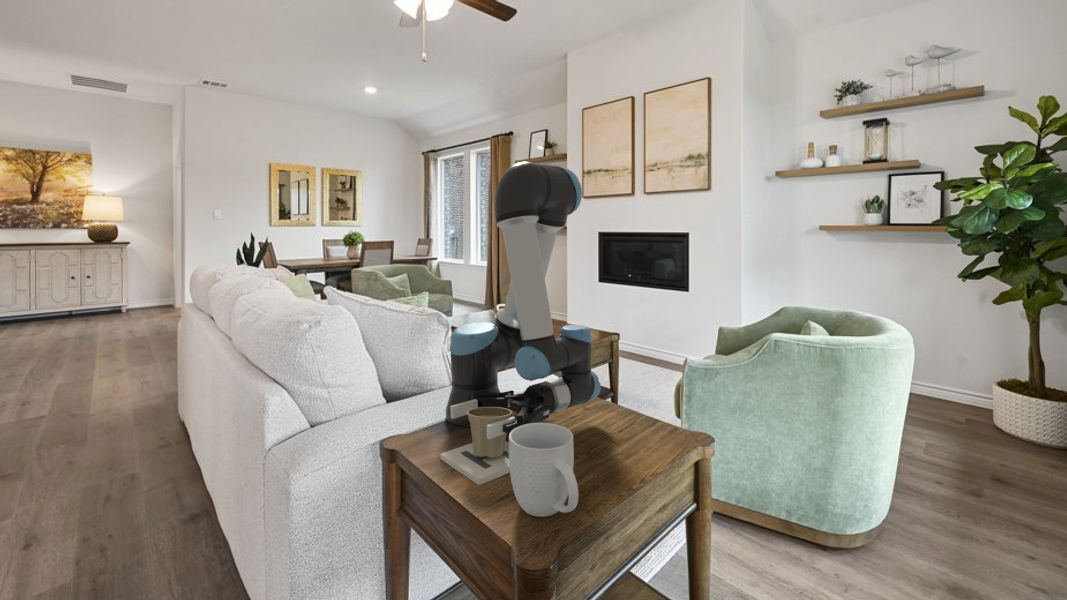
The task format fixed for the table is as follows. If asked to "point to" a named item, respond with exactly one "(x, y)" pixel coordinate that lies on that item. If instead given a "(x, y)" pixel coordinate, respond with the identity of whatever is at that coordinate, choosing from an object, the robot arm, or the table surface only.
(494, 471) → the letter board
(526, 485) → the mug
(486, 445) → the flower pot
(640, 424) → the table surface
